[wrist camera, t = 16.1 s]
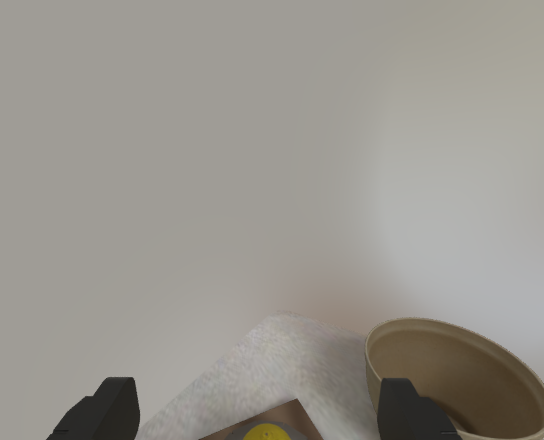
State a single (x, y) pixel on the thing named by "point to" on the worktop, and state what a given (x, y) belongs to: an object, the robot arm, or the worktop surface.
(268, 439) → the lemon
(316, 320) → the worktop surface
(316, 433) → the stand
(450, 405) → the planter bowl
